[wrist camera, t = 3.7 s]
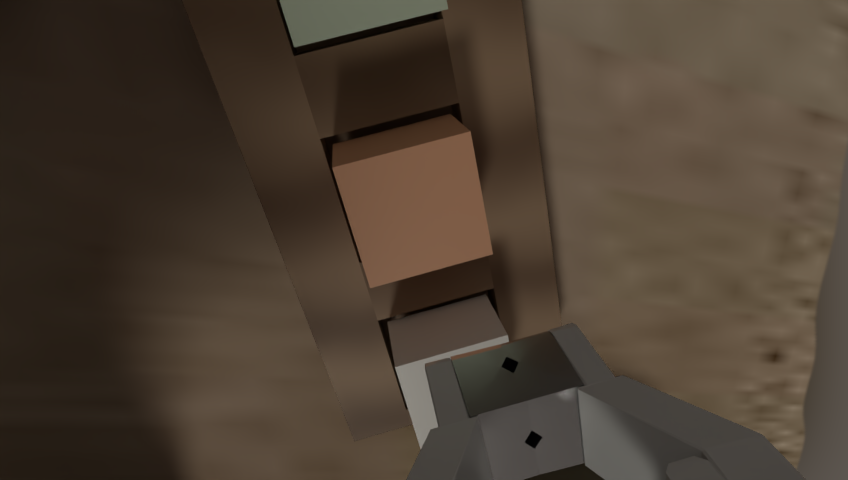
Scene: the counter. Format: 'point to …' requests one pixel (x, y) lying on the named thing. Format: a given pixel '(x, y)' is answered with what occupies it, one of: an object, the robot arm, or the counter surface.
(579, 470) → the can
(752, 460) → the robot arm
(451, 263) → the terracotta button
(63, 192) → the counter surface
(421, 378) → the grey button
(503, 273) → the walnut button board
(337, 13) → the sage button
